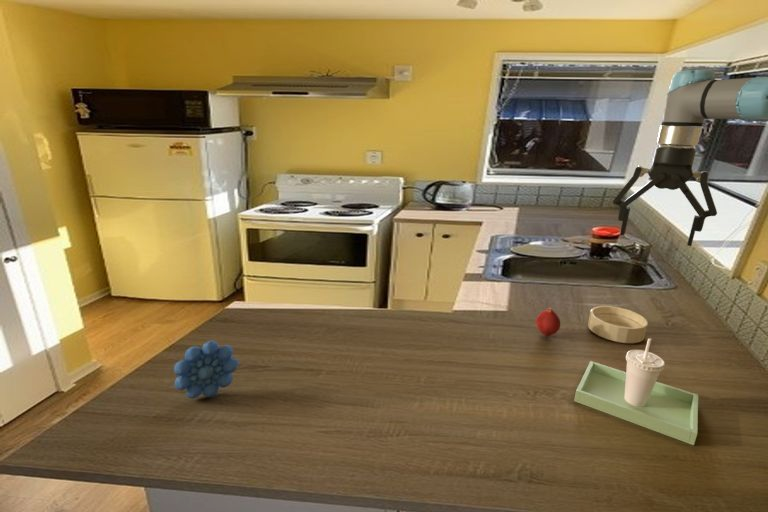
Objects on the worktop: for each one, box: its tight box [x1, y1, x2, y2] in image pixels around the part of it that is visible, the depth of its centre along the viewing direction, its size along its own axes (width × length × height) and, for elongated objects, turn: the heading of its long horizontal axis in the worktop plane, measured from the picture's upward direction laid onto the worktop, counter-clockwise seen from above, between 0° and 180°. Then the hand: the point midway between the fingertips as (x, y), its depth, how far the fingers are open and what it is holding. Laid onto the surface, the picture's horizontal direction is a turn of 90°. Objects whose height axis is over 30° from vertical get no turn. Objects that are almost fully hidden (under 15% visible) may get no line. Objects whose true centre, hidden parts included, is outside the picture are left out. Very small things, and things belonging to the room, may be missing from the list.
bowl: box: [587, 305, 649, 344], centre depth 112 cm, size 13×13×4 cm
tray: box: [573, 360, 699, 446], centre depth 83 cm, size 20×14×2 cm
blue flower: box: [173, 340, 239, 400], centre depth 81 cm, size 12×7×12 cm, turn 106°
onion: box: [535, 307, 561, 338], centre depth 108 cm, size 6×6×8 cm
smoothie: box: [624, 337, 666, 407], centre depth 82 cm, size 6×6×14 cm
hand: (654, 239), depth 100 cm, fingers open, 13 cm apart
